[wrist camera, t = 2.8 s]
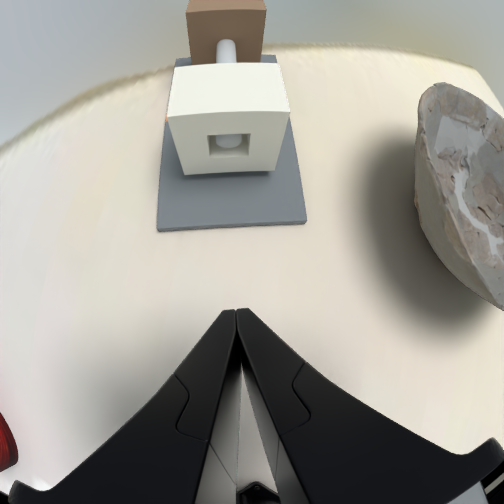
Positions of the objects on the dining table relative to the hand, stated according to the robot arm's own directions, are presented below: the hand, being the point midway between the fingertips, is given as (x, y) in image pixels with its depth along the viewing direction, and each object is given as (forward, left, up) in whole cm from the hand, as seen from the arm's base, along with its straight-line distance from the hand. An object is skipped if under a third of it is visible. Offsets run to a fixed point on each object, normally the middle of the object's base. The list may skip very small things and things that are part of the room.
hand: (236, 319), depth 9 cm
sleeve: (+10, -9, -10) cm, 17 cm away
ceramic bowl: (-10, -23, -12) cm, 28 cm away
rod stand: (+14, -12, -12) cm, 22 cm away
